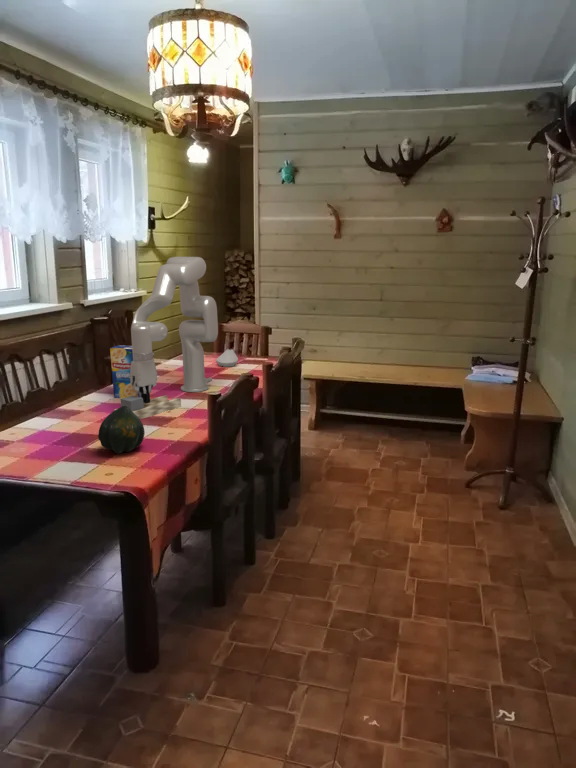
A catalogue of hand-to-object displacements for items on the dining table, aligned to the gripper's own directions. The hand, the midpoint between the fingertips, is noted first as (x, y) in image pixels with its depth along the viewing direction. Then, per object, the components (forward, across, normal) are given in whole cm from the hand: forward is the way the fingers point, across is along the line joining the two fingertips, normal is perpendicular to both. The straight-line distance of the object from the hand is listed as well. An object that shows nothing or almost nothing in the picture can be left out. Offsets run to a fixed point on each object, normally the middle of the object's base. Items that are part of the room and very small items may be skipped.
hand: (146, 402), depth 239 cm
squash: (+5, +32, +26) cm, 42 cm away
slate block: (+3, +7, 0) cm, 7 cm away
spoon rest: (+5, -88, -38) cm, 96 cm away
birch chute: (+4, -1, 0) cm, 5 cm away
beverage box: (+5, -12, -26) cm, 29 cm away
